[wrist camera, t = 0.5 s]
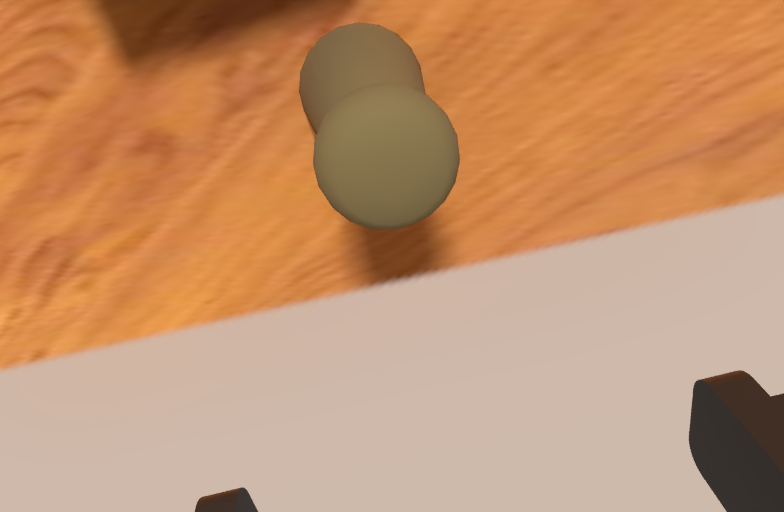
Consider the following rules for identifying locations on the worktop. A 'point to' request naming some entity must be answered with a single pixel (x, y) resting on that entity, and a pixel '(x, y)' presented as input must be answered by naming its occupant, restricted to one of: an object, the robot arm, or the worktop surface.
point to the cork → (376, 129)
